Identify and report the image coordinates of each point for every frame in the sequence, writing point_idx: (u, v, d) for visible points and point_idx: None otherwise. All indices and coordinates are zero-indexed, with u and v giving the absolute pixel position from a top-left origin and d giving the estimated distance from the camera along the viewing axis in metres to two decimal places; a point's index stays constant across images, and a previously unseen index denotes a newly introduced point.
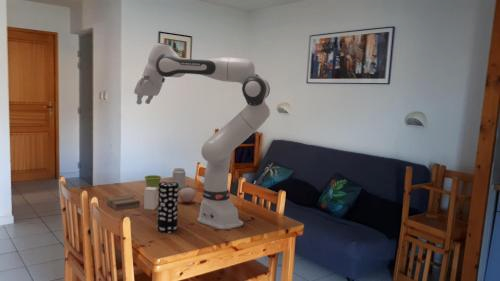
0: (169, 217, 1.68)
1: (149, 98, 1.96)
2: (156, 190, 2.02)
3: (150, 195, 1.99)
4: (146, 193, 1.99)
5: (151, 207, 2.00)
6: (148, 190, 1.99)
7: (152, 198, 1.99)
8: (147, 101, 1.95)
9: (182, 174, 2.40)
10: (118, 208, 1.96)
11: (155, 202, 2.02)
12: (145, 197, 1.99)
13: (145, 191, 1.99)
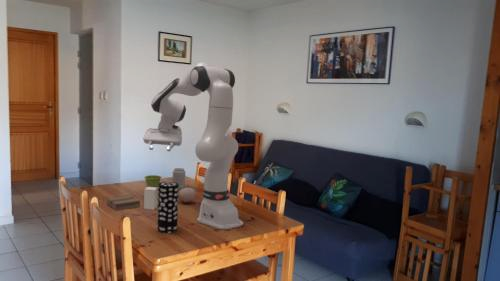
0: (169, 217, 1.68)
1: None
2: (156, 190, 2.02)
3: (150, 195, 1.99)
4: (146, 193, 1.99)
5: (151, 207, 2.00)
6: (148, 190, 1.99)
7: (152, 198, 1.99)
8: None
9: (182, 174, 2.40)
10: (118, 208, 1.96)
11: (155, 202, 2.02)
12: (145, 197, 1.99)
13: (145, 191, 1.99)
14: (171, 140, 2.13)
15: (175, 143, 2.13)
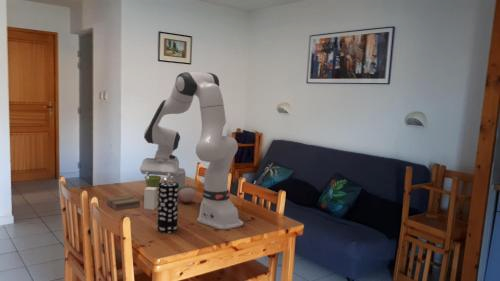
0: (169, 217, 1.68)
1: None
2: (156, 190, 2.02)
3: (150, 195, 1.99)
4: (146, 193, 1.99)
5: (151, 207, 2.00)
6: (148, 190, 1.99)
7: (152, 198, 1.99)
8: None
9: (182, 174, 2.40)
10: (118, 208, 1.96)
11: (155, 202, 2.02)
12: (145, 197, 1.99)
13: (145, 191, 1.99)
14: (168, 171, 2.10)
15: (172, 174, 2.11)
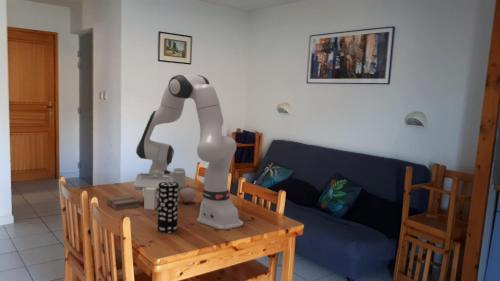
0: (169, 217, 1.68)
1: None
2: (156, 190, 2.02)
3: (150, 195, 1.99)
4: (146, 193, 1.99)
5: (151, 207, 2.00)
6: (148, 190, 1.99)
7: (152, 198, 1.99)
8: None
9: (182, 174, 2.40)
10: (118, 208, 1.96)
11: (155, 202, 2.02)
12: (145, 197, 1.99)
13: (145, 191, 1.99)
14: None
15: None
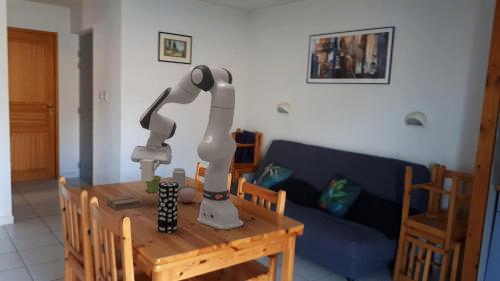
0: (169, 217, 1.68)
1: None
2: (153, 162, 2.00)
3: (147, 166, 1.98)
4: (143, 164, 1.98)
5: (148, 179, 1.98)
6: (145, 161, 1.97)
7: (149, 169, 1.98)
8: None
9: (182, 174, 2.40)
10: (118, 208, 1.96)
11: (152, 174, 2.00)
12: (142, 168, 1.98)
13: (142, 162, 1.98)
14: (160, 159, 2.01)
15: (164, 162, 2.02)
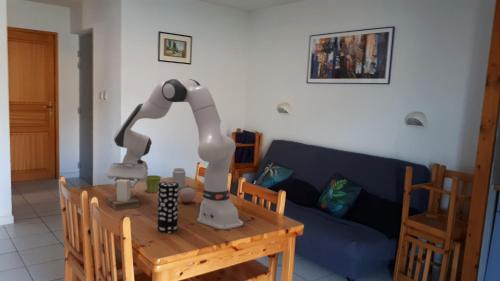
0: (169, 217, 1.68)
1: None
2: (129, 182, 2.03)
3: (122, 187, 2.00)
4: (118, 185, 2.00)
5: (124, 199, 2.00)
6: (120, 182, 2.00)
7: (124, 190, 2.00)
8: None
9: (182, 174, 2.40)
10: (118, 208, 1.96)
11: (128, 194, 2.02)
12: (118, 189, 2.00)
13: (117, 183, 2.00)
14: (135, 176, 2.03)
15: (140, 179, 2.04)
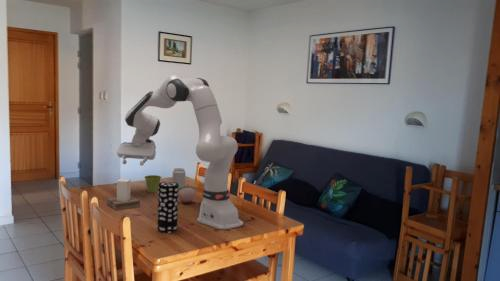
0: (169, 217, 1.68)
1: None
2: (129, 182, 2.03)
3: (122, 187, 2.00)
4: (118, 185, 2.00)
5: (124, 199, 2.00)
6: (120, 182, 2.00)
7: (124, 190, 2.00)
8: None
9: (182, 174, 2.40)
10: (118, 208, 1.96)
11: (128, 194, 2.02)
12: (118, 189, 2.00)
13: (117, 183, 2.00)
14: (144, 154, 2.14)
15: (148, 157, 2.15)
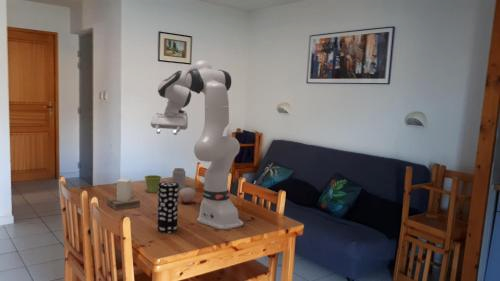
0: (169, 217, 1.68)
1: None
2: (129, 182, 2.03)
3: (122, 187, 2.00)
4: (118, 185, 2.00)
5: (124, 199, 2.00)
6: (120, 182, 2.00)
7: (124, 190, 2.00)
8: None
9: (182, 174, 2.40)
10: (118, 208, 1.96)
11: (128, 194, 2.02)
12: (118, 189, 2.00)
13: (117, 183, 2.00)
14: (177, 124, 2.20)
15: (181, 127, 2.21)
